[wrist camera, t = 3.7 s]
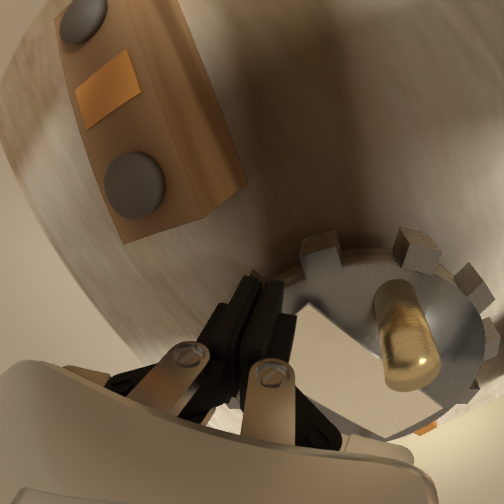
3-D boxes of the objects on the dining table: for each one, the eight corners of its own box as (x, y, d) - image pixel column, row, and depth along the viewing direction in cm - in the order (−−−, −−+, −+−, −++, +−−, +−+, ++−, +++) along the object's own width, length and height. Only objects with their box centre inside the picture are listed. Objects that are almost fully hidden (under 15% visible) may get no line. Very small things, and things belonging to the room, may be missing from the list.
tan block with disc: (178, 1, 11) (106, -39, 5) (248, 182, 15) (195, 224, 9) (125, 34, 12) (45, 17, 7) (185, 203, 16) (115, 250, 11)
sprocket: (363, 144, 11) (401, 163, 5) (518, 344, 12) (548, 411, 7) (174, 353, 20) (132, 419, 14) (342, 450, 21) (335, 508, 15)
